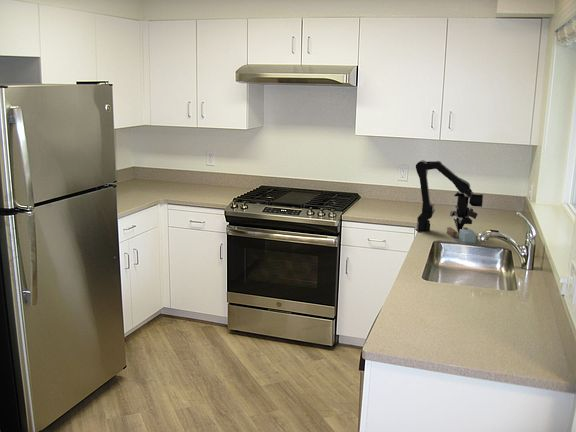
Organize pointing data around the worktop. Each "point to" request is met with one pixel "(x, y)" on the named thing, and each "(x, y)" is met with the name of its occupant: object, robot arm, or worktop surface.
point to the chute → (453, 232)
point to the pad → (463, 242)
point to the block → (467, 235)
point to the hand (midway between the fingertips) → (459, 232)
